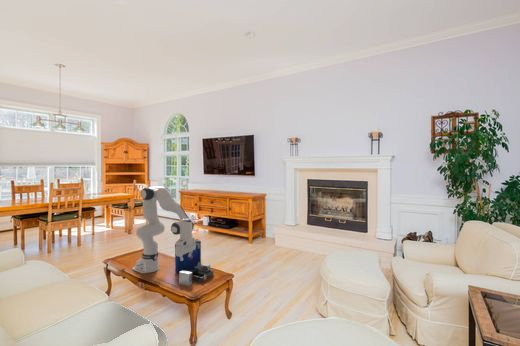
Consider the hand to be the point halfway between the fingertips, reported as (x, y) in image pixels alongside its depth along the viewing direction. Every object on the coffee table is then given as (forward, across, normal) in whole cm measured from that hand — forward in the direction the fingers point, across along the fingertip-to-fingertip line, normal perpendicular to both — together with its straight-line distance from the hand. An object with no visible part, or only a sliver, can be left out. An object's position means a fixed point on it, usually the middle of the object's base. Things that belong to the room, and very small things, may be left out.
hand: (186, 258), depth 198 cm
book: (+19, -21, -14) cm, 32 cm away
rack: (+19, -14, +4) cm, 24 cm away
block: (+19, 0, 0) cm, 19 cm away
